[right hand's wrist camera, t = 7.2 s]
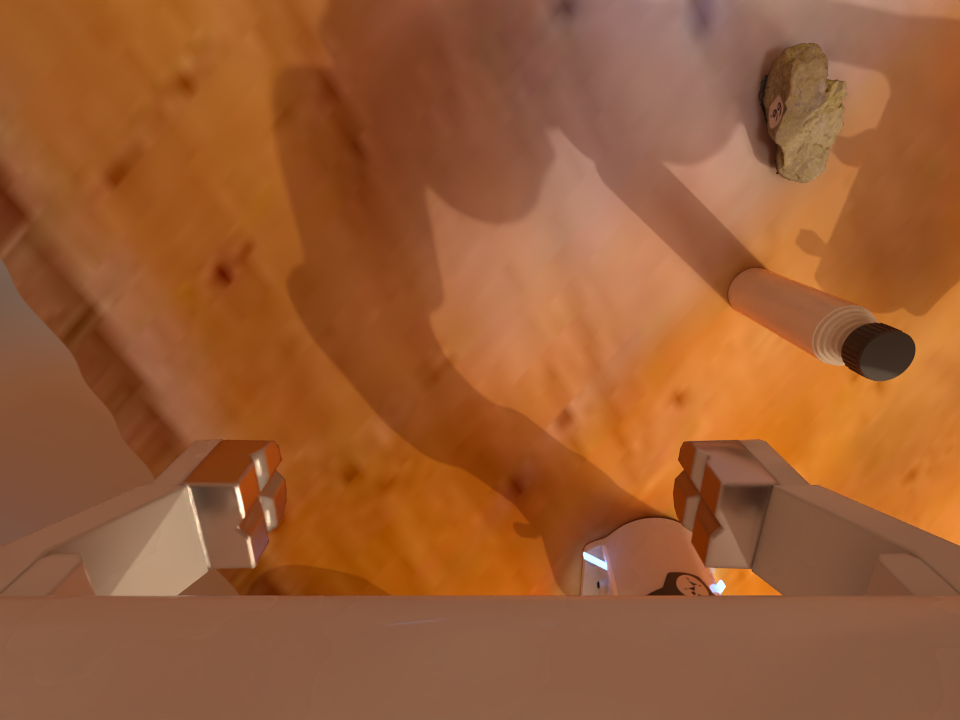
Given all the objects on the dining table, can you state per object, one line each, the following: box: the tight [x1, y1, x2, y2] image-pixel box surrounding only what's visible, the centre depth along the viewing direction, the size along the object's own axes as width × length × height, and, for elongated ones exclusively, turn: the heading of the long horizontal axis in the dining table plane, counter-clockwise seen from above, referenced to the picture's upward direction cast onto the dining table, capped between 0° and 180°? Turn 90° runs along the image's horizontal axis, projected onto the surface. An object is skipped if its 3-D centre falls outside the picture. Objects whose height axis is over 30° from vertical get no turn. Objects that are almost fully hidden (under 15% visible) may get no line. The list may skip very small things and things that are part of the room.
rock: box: [759, 43, 847, 183], centre depth 49 cm, size 11×6×10 cm
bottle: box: [728, 268, 878, 365], centre depth 48 cm, size 5×5×20 cm
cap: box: [841, 322, 915, 381], centre depth 40 cm, size 4×4×2 cm
